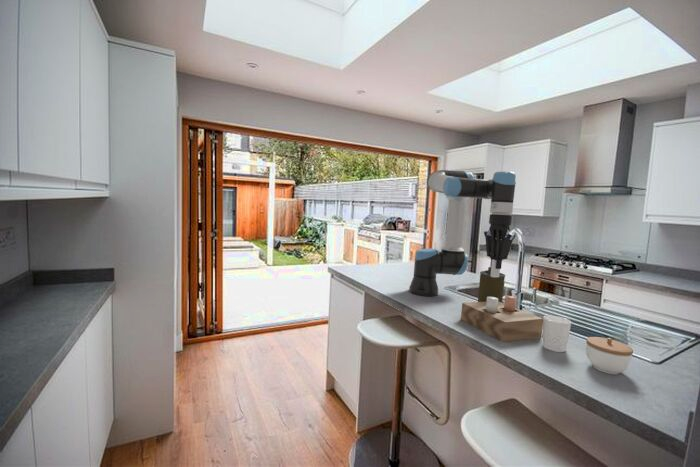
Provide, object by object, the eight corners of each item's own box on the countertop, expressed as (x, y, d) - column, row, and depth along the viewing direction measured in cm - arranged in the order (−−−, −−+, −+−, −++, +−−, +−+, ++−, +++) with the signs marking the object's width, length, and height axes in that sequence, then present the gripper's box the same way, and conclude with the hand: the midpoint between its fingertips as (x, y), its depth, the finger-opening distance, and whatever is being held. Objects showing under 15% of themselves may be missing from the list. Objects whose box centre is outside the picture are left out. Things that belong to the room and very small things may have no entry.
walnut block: (460, 319, 132) (462, 302, 132) (495, 316, 138) (496, 300, 138) (503, 341, 112) (505, 322, 111) (541, 337, 118) (543, 318, 117)
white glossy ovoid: (483, 312, 124) (484, 296, 124) (491, 311, 125) (492, 296, 125) (490, 315, 120) (492, 299, 120) (499, 315, 122) (500, 299, 121)
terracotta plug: (501, 310, 127) (502, 295, 127) (509, 310, 129) (510, 295, 128) (509, 314, 123) (511, 298, 123) (517, 313, 125) (518, 298, 124)
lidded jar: (580, 367, 96) (584, 337, 95) (587, 357, 103) (590, 328, 102) (627, 383, 88) (632, 350, 87) (631, 370, 96) (635, 340, 95)
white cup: (540, 341, 114) (543, 313, 114) (567, 347, 110) (570, 318, 110) (540, 348, 108) (543, 319, 107) (568, 355, 104) (572, 325, 103)
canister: (505, 315, 140) (510, 270, 139) (481, 314, 141) (486, 269, 139) (495, 308, 151) (499, 265, 150) (472, 306, 151) (476, 264, 150)
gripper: (480, 213, 125) (474, 273, 126) (507, 214, 112) (500, 281, 114) (495, 213, 127) (489, 273, 129) (523, 215, 115) (516, 280, 117)
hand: (494, 276), depth 122 cm, fingers closed
